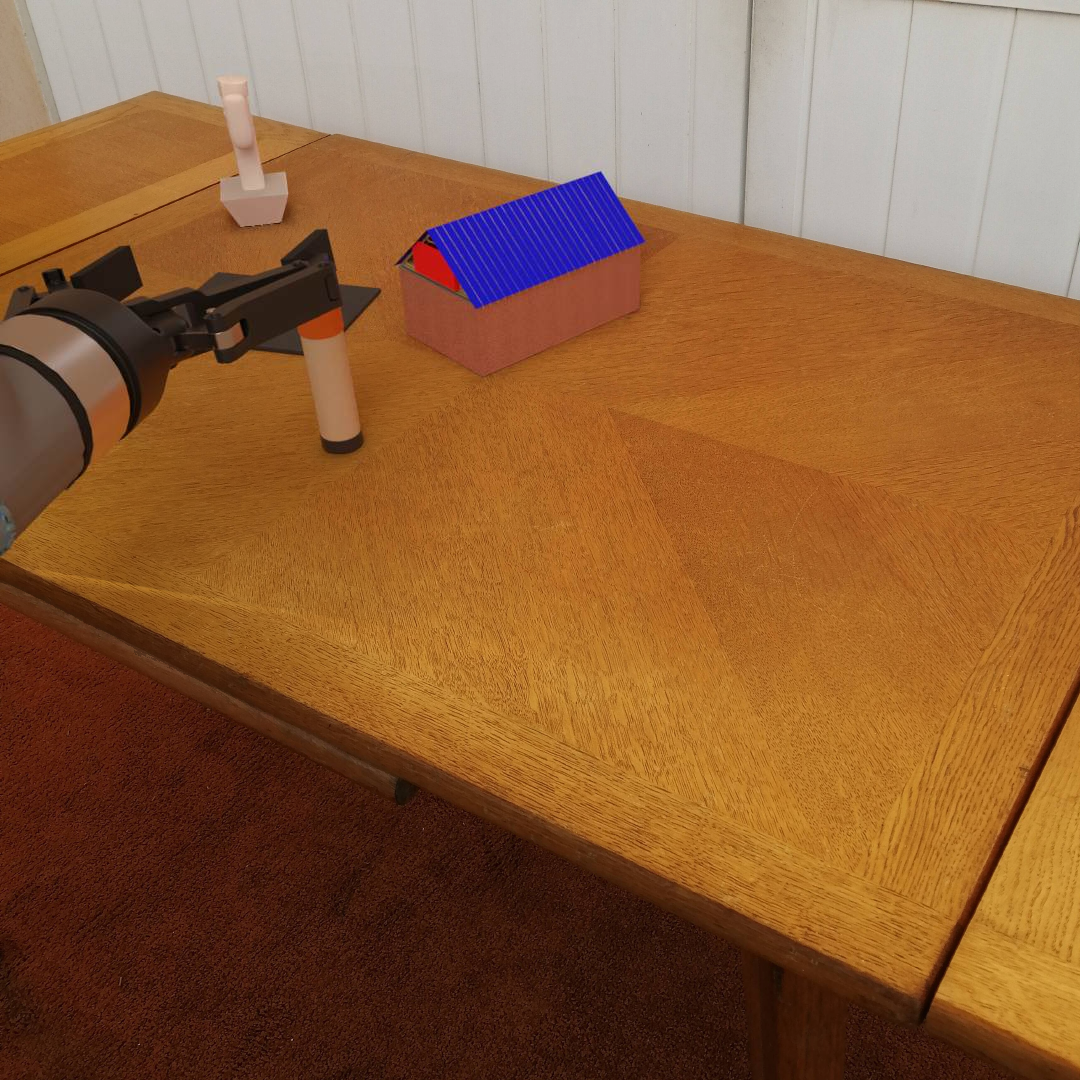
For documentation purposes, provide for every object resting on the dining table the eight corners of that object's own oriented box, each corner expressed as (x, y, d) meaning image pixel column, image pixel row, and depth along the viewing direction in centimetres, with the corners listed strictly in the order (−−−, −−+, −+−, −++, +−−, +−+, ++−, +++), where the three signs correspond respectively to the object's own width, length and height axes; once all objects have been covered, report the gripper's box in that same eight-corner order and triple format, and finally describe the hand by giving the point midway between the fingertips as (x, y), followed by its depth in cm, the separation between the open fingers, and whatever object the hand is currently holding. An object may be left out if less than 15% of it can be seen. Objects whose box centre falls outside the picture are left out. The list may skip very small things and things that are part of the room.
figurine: (291, 200, 131) (264, 62, 121) (295, 230, 124) (267, 87, 114) (227, 206, 129) (195, 68, 120) (228, 237, 122) (194, 93, 113)
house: (644, 308, 108) (646, 187, 100) (482, 379, 98) (470, 250, 90) (562, 271, 115) (558, 155, 107) (402, 334, 104) (385, 210, 97)
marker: (314, 451, 89) (282, 299, 81) (332, 429, 92) (302, 279, 83) (353, 457, 88) (325, 303, 80) (370, 434, 91) (345, 284, 83)
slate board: (144, 337, 105) (143, 332, 104) (218, 275, 115) (217, 270, 115) (320, 357, 101) (320, 352, 101) (381, 291, 111) (380, 287, 111)
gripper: (-127, 464, 59) (73, 326, 77) (318, 441, 55) (422, 301, 73) (-197, 328, 55) (31, 215, 73) (279, 292, 51) (398, 182, 69)
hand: (227, 258), depth 73 cm, fingers open, 13 cm apart
